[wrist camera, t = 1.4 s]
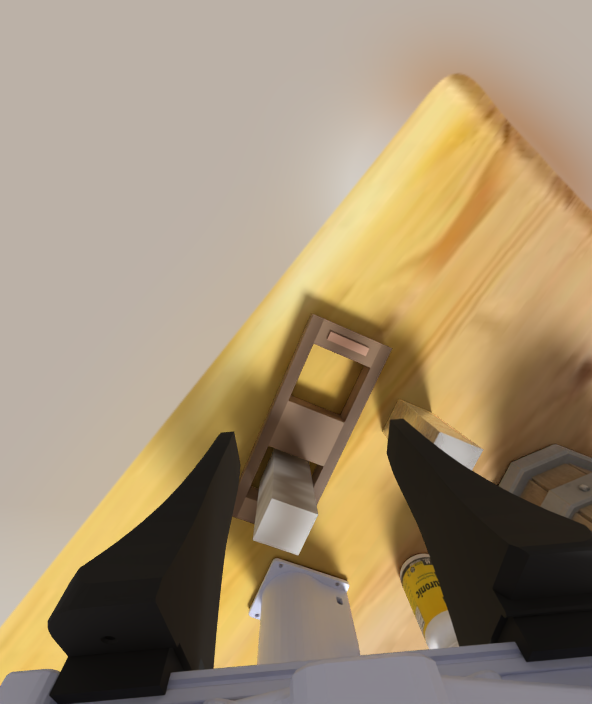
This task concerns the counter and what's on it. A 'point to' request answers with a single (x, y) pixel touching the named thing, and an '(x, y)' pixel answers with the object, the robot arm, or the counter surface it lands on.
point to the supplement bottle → (428, 602)
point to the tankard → (554, 482)
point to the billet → (437, 433)
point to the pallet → (303, 441)
